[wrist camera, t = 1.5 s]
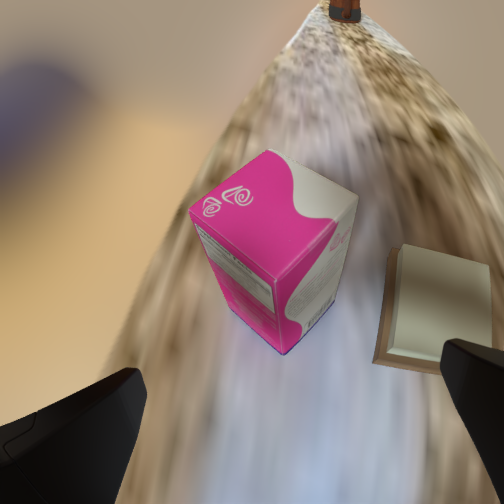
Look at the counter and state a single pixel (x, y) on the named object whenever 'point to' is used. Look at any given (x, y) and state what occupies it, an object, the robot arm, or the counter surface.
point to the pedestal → (431, 307)
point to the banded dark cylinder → (345, 10)
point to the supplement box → (277, 244)
